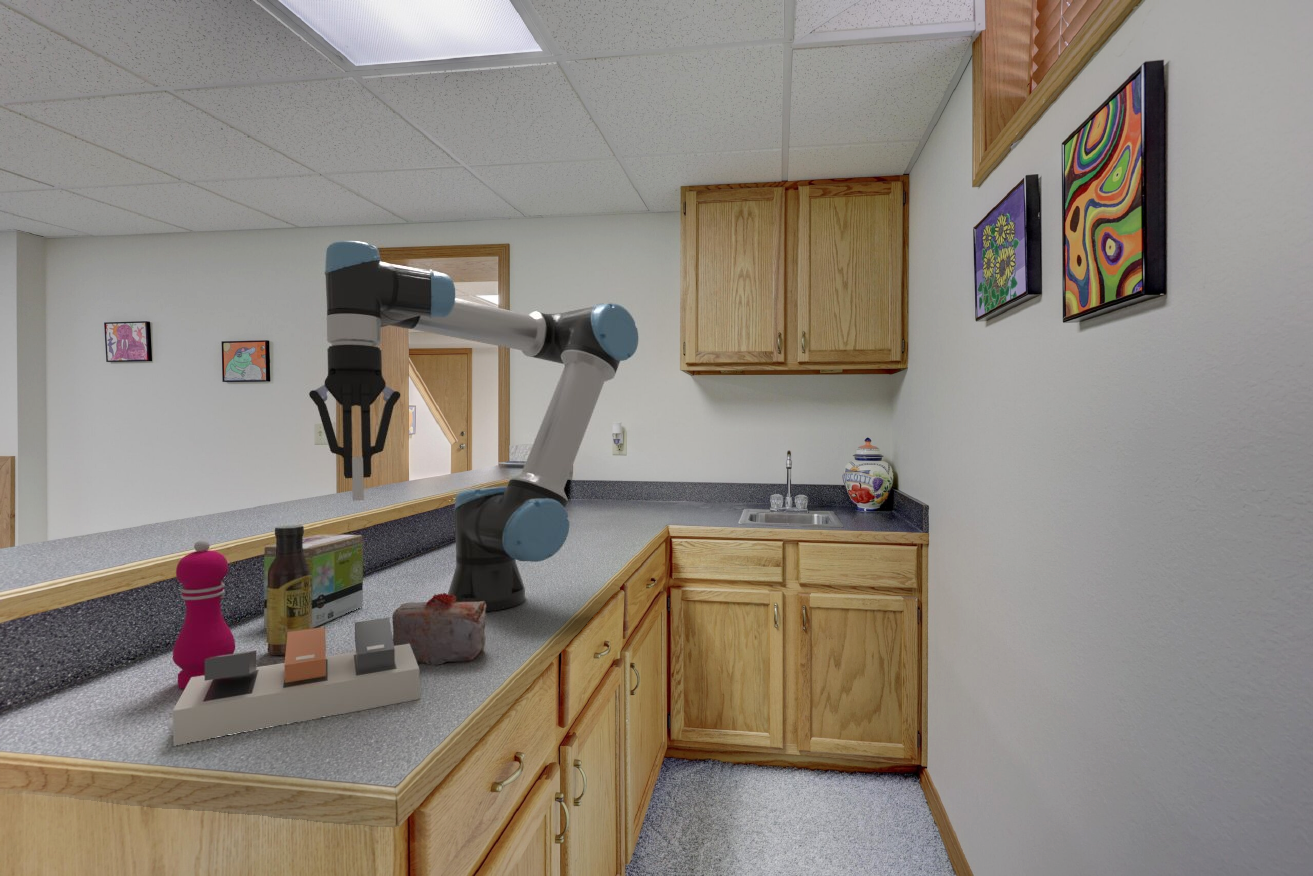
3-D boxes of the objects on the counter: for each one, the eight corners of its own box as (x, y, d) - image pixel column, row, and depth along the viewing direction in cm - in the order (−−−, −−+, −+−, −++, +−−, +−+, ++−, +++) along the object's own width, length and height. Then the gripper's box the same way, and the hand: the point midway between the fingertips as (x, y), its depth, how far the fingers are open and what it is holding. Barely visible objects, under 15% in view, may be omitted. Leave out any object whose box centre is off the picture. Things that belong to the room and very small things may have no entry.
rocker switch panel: (410, 671, 94) (409, 643, 94) (419, 699, 84) (419, 668, 84) (192, 708, 82) (191, 677, 82) (173, 746, 72) (172, 710, 72)
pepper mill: (243, 680, 91) (239, 539, 91) (180, 696, 86) (176, 546, 85) (227, 668, 96) (224, 533, 96) (167, 682, 91) (163, 540, 90)
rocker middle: (325, 642, 87) (325, 626, 87) (325, 676, 81) (325, 658, 80) (288, 648, 85) (287, 631, 85) (285, 682, 79) (284, 664, 78)
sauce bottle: (291, 658, 100) (288, 530, 99) (257, 656, 101) (254, 529, 100) (322, 644, 106) (319, 523, 106) (289, 642, 107) (286, 523, 107)
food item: (491, 647, 104) (490, 586, 103) (482, 666, 96) (480, 599, 95) (404, 651, 102) (402, 589, 102) (387, 670, 94) (385, 603, 94)
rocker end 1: (256, 669, 83) (256, 649, 84) (249, 673, 76) (249, 652, 77) (215, 676, 81) (215, 655, 82) (204, 680, 74) (204, 658, 75)
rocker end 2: (389, 632, 91) (389, 617, 90) (394, 665, 84) (394, 648, 84) (354, 637, 89) (354, 622, 89) (357, 671, 82) (357, 654, 82)
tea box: (313, 631, 113) (311, 547, 113) (262, 629, 115) (260, 546, 115) (365, 607, 128) (363, 532, 128) (319, 605, 130) (317, 532, 130)
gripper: (397, 350, 105) (401, 494, 106) (307, 346, 99) (310, 499, 100) (402, 344, 99) (405, 499, 99) (305, 340, 93) (309, 504, 93)
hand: (358, 499), depth 99 cm, fingers closed
